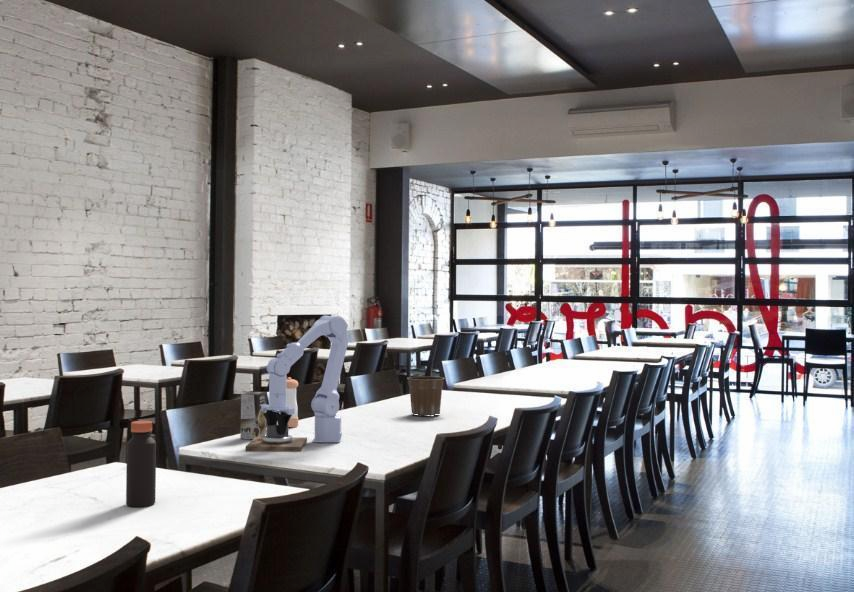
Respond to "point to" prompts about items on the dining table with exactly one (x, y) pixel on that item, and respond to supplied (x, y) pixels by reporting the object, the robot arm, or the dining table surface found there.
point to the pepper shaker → (292, 400)
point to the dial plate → (277, 445)
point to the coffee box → (253, 415)
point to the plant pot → (425, 394)
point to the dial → (275, 436)
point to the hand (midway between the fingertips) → (277, 433)
